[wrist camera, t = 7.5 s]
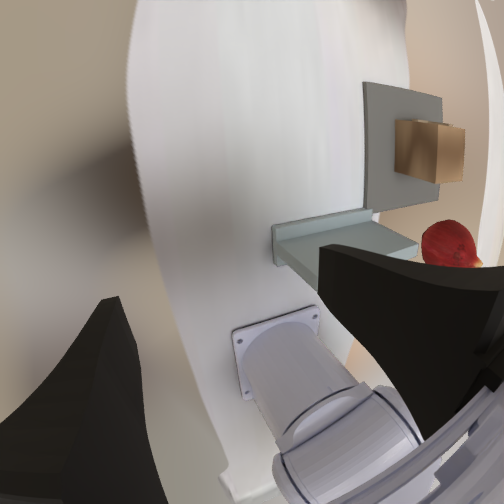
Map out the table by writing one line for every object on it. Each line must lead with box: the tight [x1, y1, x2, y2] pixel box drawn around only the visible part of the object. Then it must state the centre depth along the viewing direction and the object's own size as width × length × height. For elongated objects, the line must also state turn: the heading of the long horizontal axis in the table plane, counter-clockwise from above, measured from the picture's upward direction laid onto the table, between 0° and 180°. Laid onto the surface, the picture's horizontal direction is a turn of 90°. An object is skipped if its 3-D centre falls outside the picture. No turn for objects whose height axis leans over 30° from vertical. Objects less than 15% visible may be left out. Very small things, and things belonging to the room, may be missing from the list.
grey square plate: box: [363, 82, 443, 214], centre depth 23 cm, size 11×11×1 cm
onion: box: [421, 220, 483, 268], centre depth 25 cm, size 6×6×8 cm
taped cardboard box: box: [394, 119, 465, 184], centre depth 20 cm, size 5×5×5 cm
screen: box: [272, 208, 419, 292], centre depth 20 cm, size 3×9×6 cm, turn 95°
